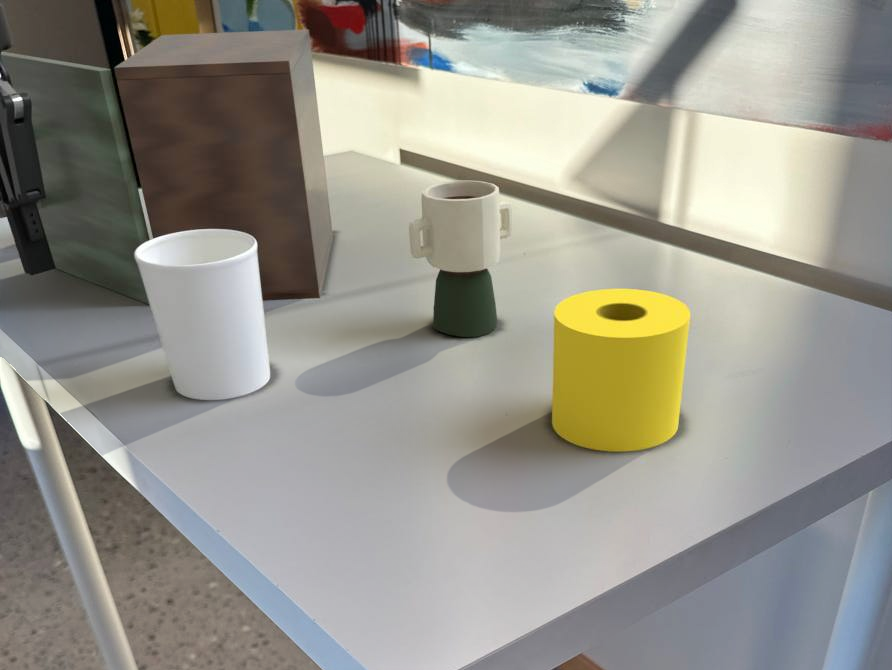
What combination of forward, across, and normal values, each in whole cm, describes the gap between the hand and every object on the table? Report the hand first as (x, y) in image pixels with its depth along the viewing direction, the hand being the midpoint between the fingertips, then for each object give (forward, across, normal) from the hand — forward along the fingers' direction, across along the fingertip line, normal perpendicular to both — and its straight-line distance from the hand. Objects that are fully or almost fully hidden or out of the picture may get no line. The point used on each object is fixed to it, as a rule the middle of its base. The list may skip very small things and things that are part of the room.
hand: (40, 270), depth 101 cm
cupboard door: (+4, +2, -5) cm, 6 cm away
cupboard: (+4, -8, -21) cm, 23 cm away
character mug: (+4, -40, -22) cm, 46 cm away
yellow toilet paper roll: (+4, -63, -14) cm, 65 cm away
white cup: (+4, -31, 0) cm, 31 cm away
